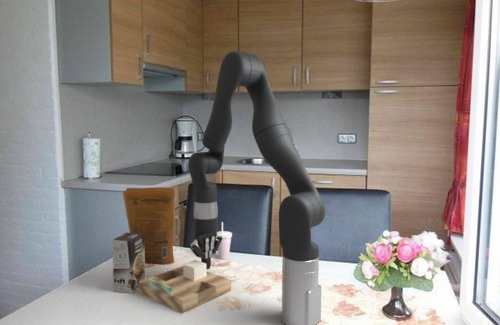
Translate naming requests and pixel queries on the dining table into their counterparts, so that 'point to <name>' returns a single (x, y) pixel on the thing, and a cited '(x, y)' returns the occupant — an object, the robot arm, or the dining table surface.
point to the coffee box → (128, 262)
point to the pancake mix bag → (152, 220)
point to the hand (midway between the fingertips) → (206, 268)
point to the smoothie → (224, 244)
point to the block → (194, 270)
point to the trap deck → (183, 289)
